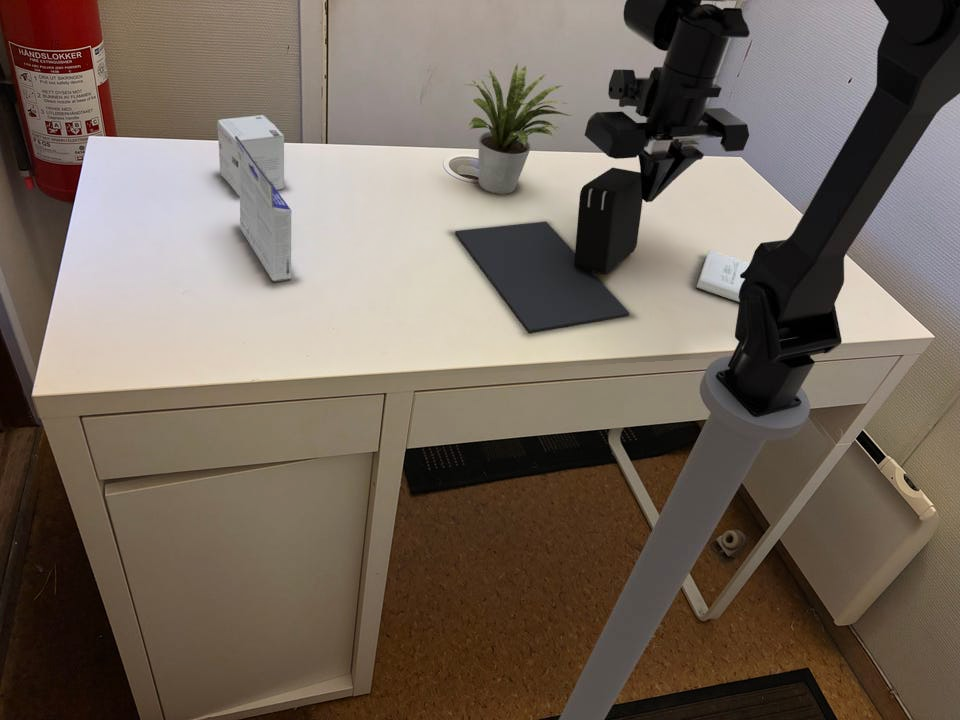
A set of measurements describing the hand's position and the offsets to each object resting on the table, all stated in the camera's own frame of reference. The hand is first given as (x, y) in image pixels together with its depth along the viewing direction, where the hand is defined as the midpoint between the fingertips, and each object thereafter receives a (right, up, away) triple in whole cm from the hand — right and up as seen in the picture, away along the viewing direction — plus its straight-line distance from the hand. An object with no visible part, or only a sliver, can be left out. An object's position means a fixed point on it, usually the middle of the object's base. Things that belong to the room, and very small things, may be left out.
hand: (646, 200), depth 89 cm
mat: (-13, -9, 0) cm, 15 cm away
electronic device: (-4, -7, +4) cm, 9 cm away
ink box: (-43, -7, -5) cm, 44 cm away
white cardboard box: (-48, +3, +6) cm, 49 cm away
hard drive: (+14, -10, +5) cm, 18 cm away
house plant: (-18, +5, +15) cm, 24 cm away
